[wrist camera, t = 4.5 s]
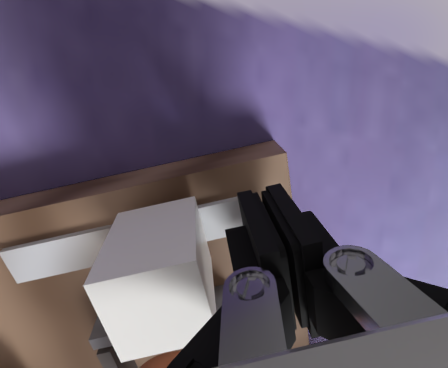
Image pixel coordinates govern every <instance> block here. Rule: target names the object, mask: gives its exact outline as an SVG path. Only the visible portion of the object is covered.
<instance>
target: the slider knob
mask: <svg viewBox="0 0 448 368" xmlns="http://www.w3.org/2000/svg"><path fill="white" fill-rule="evenodd" d="M83 287H84V289H85V291H86V293H87V295H88V297H89V299H90V301H91V303H92V305H93V307H94V309H95V311H96V313H97V315H98V317H99V319H100V321H101V323H102V325H103V327H104V329H105V331H106V333H107V335H108V337H109V339H110V341H111V343H112V345H113V347H114V349H115V352H116V354H117V356H118V358H119V360H120V362H121V363H122V362H126V361H130V360H135V359H139V358H144V357H148V356H152V355H157V354H161V353H165V352H170V351H174V350H179V349H183V348H184V347H185V346H186V345H187V344H188V343H189V341H190V340H191V339H192V338H193V337H194V336H195V335H196V334H197V333H198V331H199V330H200V329H201V328H202V327H203V326H204V325H205V324H206V323H207V321H208V320H209V319H210V318H211V317H212V316H213V315H214V314H215V313H216V303H215V292H214V282H213V272H212V261H211V256H210V252H209V248H208V244H207V241H206V237H205V233H204V229H203V225H202V222H201V218H200V214H199V210H198V206H197V202H196V199H195V196H193V197H189V198H184V199H180V200H175V201H170V202H166V203H161V204H157V205H152V206H148V207H143V208H139V209H134V210H130V211H125V212H121V213H118V214H117V216H116V218H115V220H114V222H113V224H112V226H111V229H110V231H109V233H108V235H107V237H106V239H105V241H104V243H103V245H102V247H101V249H100V252H99V254H98V256H97V258H96V260H95V262H94V264H93V266H92V268H91V270H90V272H89V274H88V277H87V279H86V281H85V283H84V285H83Z"/></svg>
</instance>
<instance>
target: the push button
mask: <svg viewBox="0 0 448 368" xmlns="http://www.w3.org/2000/svg"><path fill="white" fill-rule="evenodd" d="M179 352H180V351H173V352H167V353H163V354H160V355H158V356H155V357H153V358H151V359H150V360H148V361H147V362H145V363H144V364H143V365H142V366H141V367H140V368H167V366H168V365H169V364H170V362H171V361H172V360H173V359H174V358H175V357H176V356H177V355H178V354H179Z"/></svg>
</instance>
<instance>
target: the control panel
mask: <svg viewBox="0 0 448 368" xmlns="http://www.w3.org/2000/svg"><path fill="white" fill-rule="evenodd" d="M279 183H280V184H281V185H282V186H283V188H284V189H285V190H286V192H287V193H288V195H289V196H290V197H291V199H292V194H291V186H290V178H289V169H288V161H287V153H286V152H285V151H284V150H283V149H282V148H281V147H280V146H279V145H278V144H277V143H276V142H275V141H274V140H272V141H268V142H263V143H259V144H254V145H249V146H245V147H240V148H236V149H231V150H227V151H222V152H218V153H213V154H208V155H204V156H199V157H195V158H190V159H186V160H181V161H177V162H172V163H167V164H163V165H158V166H154V167H149V168H145V169H140V170H136V171H131V172H126V173H122V174H117V175H113V176H108V177H104V178H99V179H95V180H90V181H85V182H81V183H76V184H72V185H67V186H63V187H58V188H54V189H49V190H44V191H40V192H35V193H31V194H26V195H22V196H17V197H13V198H8V199H3V200H0V368H140V367H141V366H142V365H143V364H144V363H145V362H147V361H148V360H150V359H151V358H153V357H155V356H158V355H160V354H157V355H152V356H148V357H144V358H139V359H135V360H130V361H126V362H122V363H121V362H120V360H119V358H118V356H117V354H116V352H115V349H114V347H113V345H112V343H111V341H110V339H109V337H108V335H107V333H106V331H105V329H104V327H103V325H102V323H101V321H100V319H99V317H98V315H97V313H96V311H95V309H94V307H93V305H92V303H91V301H90V299H89V297H88V295H87V293H86V291H85V289H84V287H83V285H84V283H85V281H86V279H87V277H88V274H89V272H90V270H91V268H92V266H93V264H94V262H95V260H96V258H97V256H98V254H99V252H100V249H101V247H102V245H103V243H104V241H105V239H106V237H107V235H108V233H109V231H110V229H111V226H112V224H113V222H114V220H115V218H116V216H117V214H118V213H121V212H125V211H130V210H134V209H139V208H143V207H148V206H152V205H157V204H161V203H166V202H170V201H175V200H180V199H184V198H189V197H193V196H195V199H196V202H197V206H198V210H199V214H200V218H201V222H202V225H203V229H204V233H205V237H206V241H207V244H208V248H209V252H210V256H211V261H212V272H213V282H214V292H215V303H216V311H217V310H218V309H219V308H220V307H221V306H222V296H223V286H224V282H225V280H226V279H227V277H228V276H229V275H231V274H232V273H233V267H232V263H231V258H230V253H229V248H228V243H227V238H226V233H225V229H230V228H234V227H239V226H243V223H242V218H241V213H240V208H239V203H238V197H237V193H238V192H243V191H247V190H251V191H252V193H256V192H257V193H258V195H259V197H260V198H261V200H262V196H261V191H265V190H266V186H270V185H275V184H279ZM295 318H296V326H297V330H295V334H296V341H295V343H294V344H293V346H292V348H291V349H293V348H298V347H302V346H306V345H309V338H308V329H307V327H306V328H301V326H300V324H299V322H298V319H297V317H296V315H295ZM181 350H182V349H179V350H174V351H181ZM170 352H173V351H170ZM165 353H167V352H165ZM161 354H163V353H161Z"/></svg>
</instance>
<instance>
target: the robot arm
mask: <svg viewBox="0 0 448 368" xmlns="http://www.w3.org/2000/svg"><path fill="white" fill-rule="evenodd" d="M261 196H262V200H261V198H260V197H259V195H258V193H257V192H256V193H252V191H251V190H247V191H243V192H238V193H237V197H238V203H239V208H240V213H241V218H242V223H243V226H239V227H234V228H230V229H225V233H226V238H227V243H228V248H229V253H230V258H231V263H232V267H233V273H232V274H231V275H229V276H228V277H227V279H226V280H225V282H224V286H223V296H222V306H221V307H220V308H219V309H218V310H217V311H216V313H215V314H214V315H213V316H212V317H211V318H210V319H209V320H208V321H207V323H206V324H205V325H204V326H203V327H202V328H201V329H200V330H199V331H198V333H197V334H196V335H195V336H194V337H193V338H192V339H191V340H190V341H189V343H188V344H187V345H186V346H185V347H184V348H183V349H182V350H181V351H180V352H179V354H178V355H177V356H176V357H175V358H174V359H173V360H172V361H171V362H170V364H169V365H168V366H167V368H448V289H446V288H442V287H439V286H435V285H431V284H428V283H424V282H421V281H417V280H413V279H410V278H406V277H403V276H402V275H401V274H399V273H398V272H397V271H396V270H394V269H393V268H392V267H391V266H389V265H388V264H387V263H386V262H384V261H383V260H382V259H380V258H379V257H378V256H377V255H375V254H374V253H373V252H371V251H369V250H368V249H365V248H362V247H359V246H353V245H343V246H339V245H338V244H337V243H336V242H335V240H334V239H333V238H332V237H331V235H330V234H329V233H328V232H327V230H326V229H325V228H324V227H323V225H322V224H321V223H320V222H319V220H318V219H317V218H316V217H315V215H314V214H313V213H312V212H311V211H306V212H302V213H301V211H300V210H299V208H298V207H297V206H296V204H295V203H294V201H293V200H292V199H291V197H290V196H289V195H288V193H287V192H286V190H285V189H284V188H283V186H282V185H281V184H280V183H279V184H275V185H270V186H266V190H265V191H261ZM295 315H296V317H297V319H298V322H299V324H300V326H301V328H306V327H307V328H308V330H309V333H310V335H311V337H312V338H315V337H319V336H321V337H324V338H326V339H328V341H323V342H319V343H315V344H310V345H306V346H302V347H298V348H293V349H291V348H292V346H293V344H294V343H295V341H296V334H295V330H297V326H296V318H295Z"/></svg>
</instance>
